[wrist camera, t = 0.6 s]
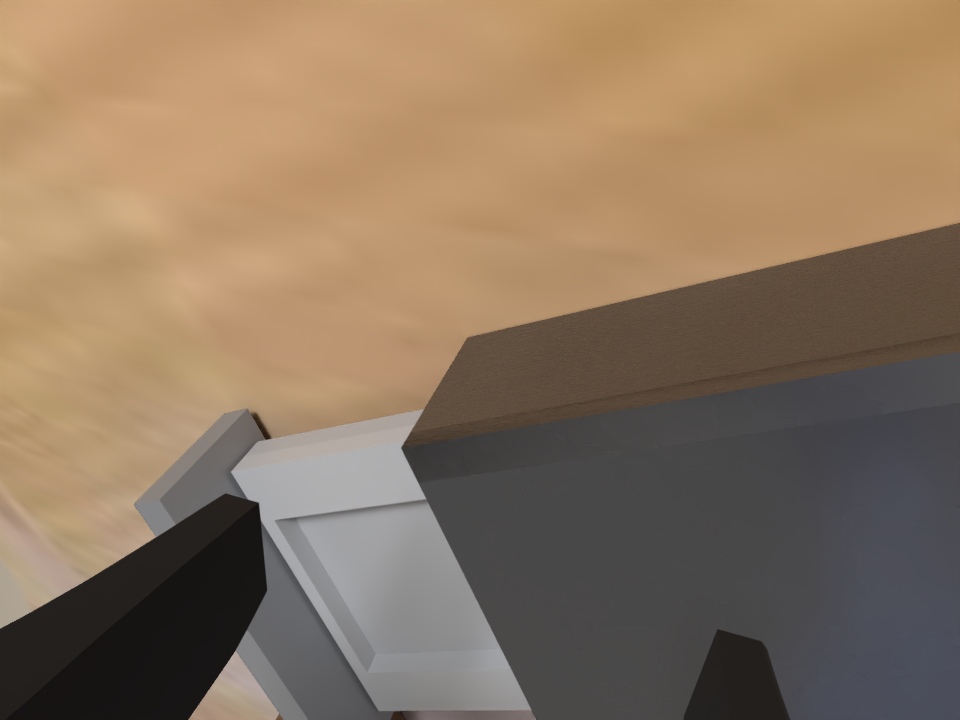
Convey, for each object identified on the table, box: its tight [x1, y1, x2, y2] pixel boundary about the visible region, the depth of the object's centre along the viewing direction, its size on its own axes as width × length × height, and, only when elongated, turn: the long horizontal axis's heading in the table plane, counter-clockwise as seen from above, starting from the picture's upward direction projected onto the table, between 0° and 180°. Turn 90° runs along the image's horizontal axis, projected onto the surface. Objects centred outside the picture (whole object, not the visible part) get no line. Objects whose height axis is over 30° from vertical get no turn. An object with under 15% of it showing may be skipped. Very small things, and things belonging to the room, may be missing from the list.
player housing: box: [401, 223, 960, 720], centre depth 19 cm, size 14×13×5 cm
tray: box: [134, 409, 531, 720], centre depth 23 cm, size 13×13×5 cm
